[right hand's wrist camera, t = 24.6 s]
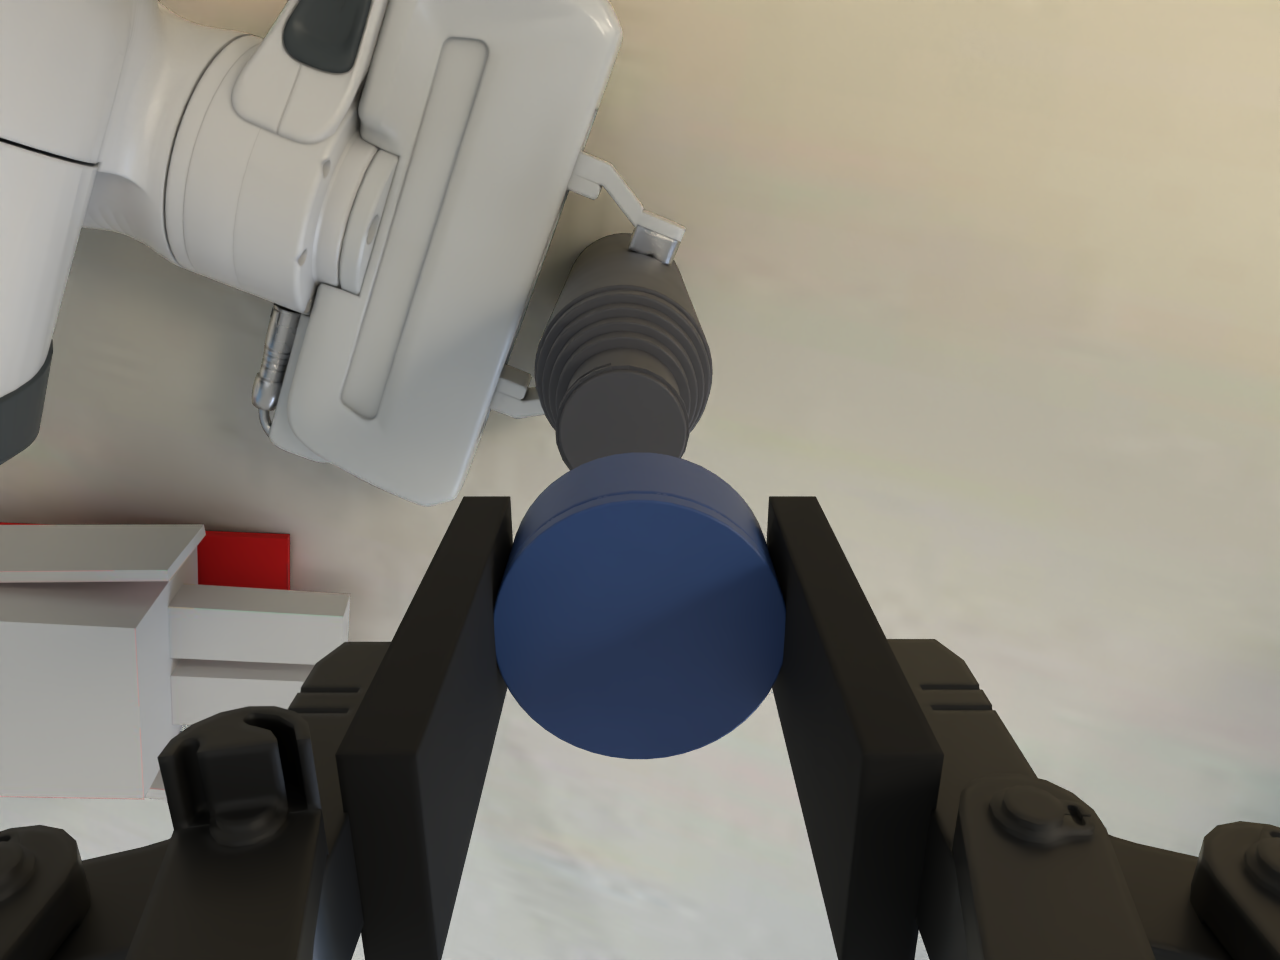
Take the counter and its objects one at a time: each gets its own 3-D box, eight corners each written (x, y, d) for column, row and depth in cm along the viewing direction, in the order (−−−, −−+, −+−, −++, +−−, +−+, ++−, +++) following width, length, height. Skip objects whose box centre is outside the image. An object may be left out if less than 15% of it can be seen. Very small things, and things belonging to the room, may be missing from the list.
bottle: (643, 209, 40) (658, 277, 20) (704, 311, 41) (774, 465, 22) (544, 274, 41) (466, 401, 21) (608, 371, 42) (591, 571, 23)
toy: (320, 843, 40) (-498, 836, 34) (361, 674, 52) (-235, 648, 46) (328, 607, 36) (-601, 553, 30) (371, 484, 48) (-283, 428, 42)
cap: (463, 516, 14) (436, 575, 12) (705, 406, 14) (715, 450, 12) (582, 716, 16) (575, 798, 14) (806, 625, 15) (832, 697, 13)
